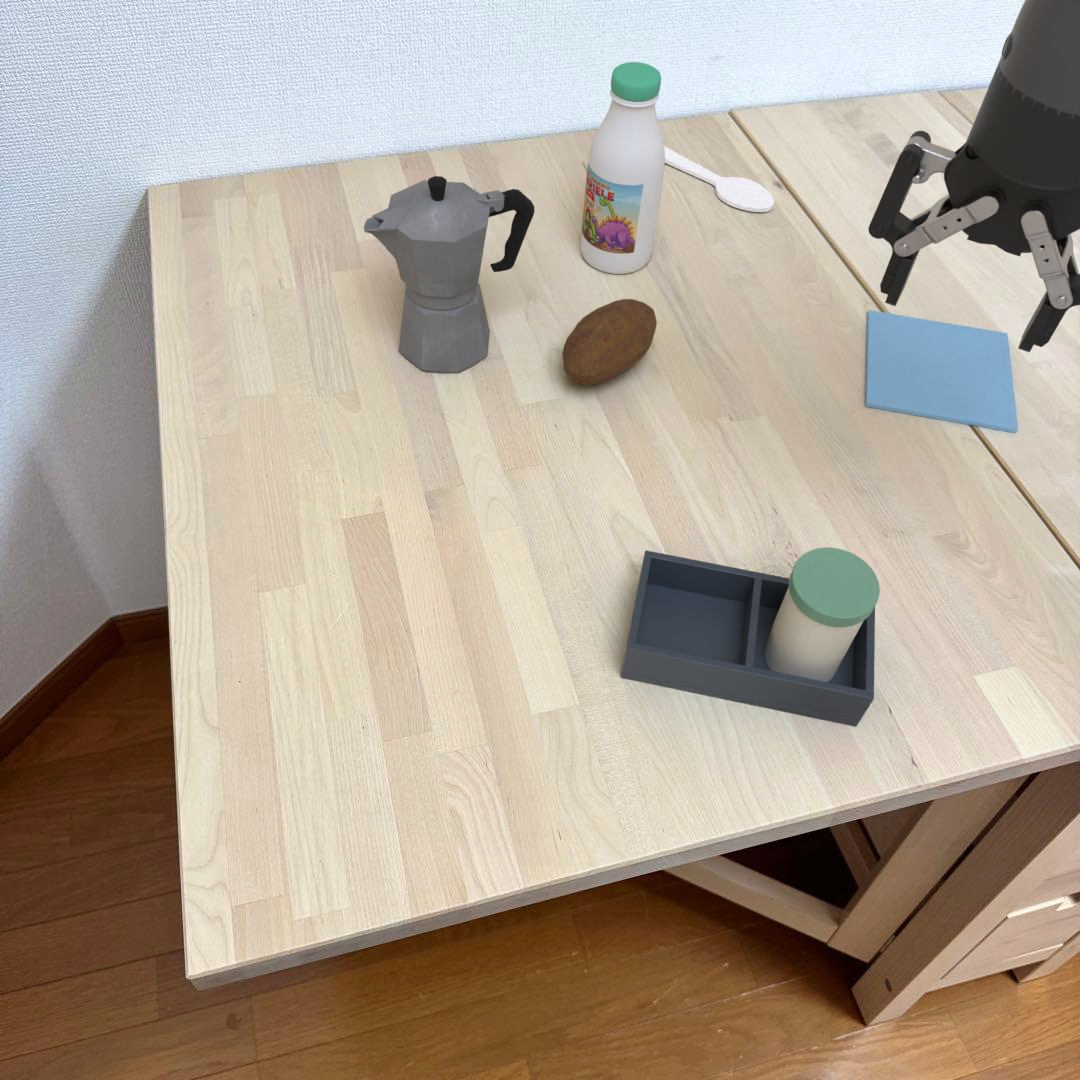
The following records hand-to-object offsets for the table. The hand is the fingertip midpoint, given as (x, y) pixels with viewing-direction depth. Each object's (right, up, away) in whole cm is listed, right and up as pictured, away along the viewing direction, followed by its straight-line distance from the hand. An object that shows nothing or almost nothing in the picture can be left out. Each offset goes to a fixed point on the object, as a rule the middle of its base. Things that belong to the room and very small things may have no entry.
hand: (958, 320), depth 64 cm
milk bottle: (-19, +17, +44) cm, 51 cm away
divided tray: (-11, -23, +14) cm, 29 cm away
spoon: (-7, +28, +54) cm, 61 cm away
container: (-7, -23, +13) cm, 27 cm away
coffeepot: (-35, +5, +35) cm, 50 cm away
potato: (-20, +3, +33) cm, 39 cm away
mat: (+13, +3, +35) cm, 37 cm away
